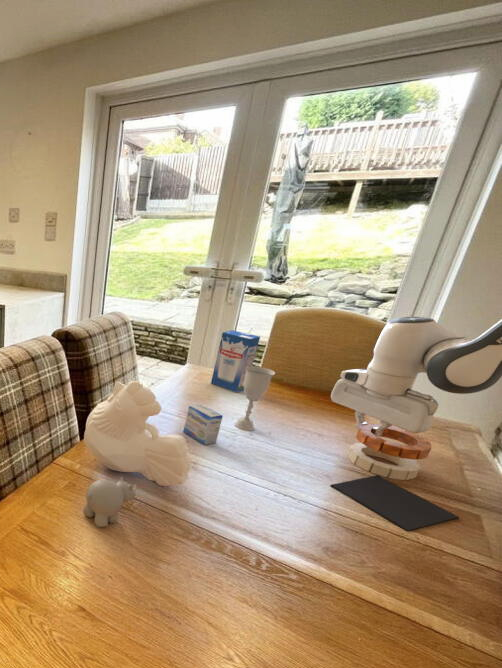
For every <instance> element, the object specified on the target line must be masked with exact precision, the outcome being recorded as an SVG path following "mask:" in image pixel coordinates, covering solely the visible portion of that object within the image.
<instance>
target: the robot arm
mask: <svg viewBox="0 0 502 668" xmlns="http://www.w3.org/2000/svg"><path fill="white" fill-rule="evenodd" d="M421 373H426V376H427V379H428V381H429V382H430V383H431V384H432V385H433V386H434V387H435V388H437V389H439V390H441V391H443V392H446V393H451V394H459V395H466V394H467V395H468V394H469V395H470V394H475V393H478V392H482V391H485V390H487V389H489V388H491V387H492V386H494V385H495V384H497V383H498V381H499V380H500V379H501V378H502V318H501V319H500V320H498V322H496V323H495V324H493V325H492V326H491V327H489V328H488V329H487V330H486V331H484V332H483V333H481V334H480V335H479V336H478V337H476V338H471V337H469V336H466V335H462V334H461V333H457V332H454V331H452V330H450V329H449V328H447V327H445V326H443V325H441V324H440V323H438V322H437V321H436V320H435V319H434V318H431V317H426V316H403V317H397V318H394V319H391V320H390V321H389V322H387V323H386V325H385V326H384V327H383V329H382V331H381V333H380V335H379V337H378V339H377V341H376V343H375V347H374V348H373V358H372V359H371V361H370V362H369V363H368V365H367V368H355V369H347V370H342V371H341V372H340V379H338V380H337V381H336V383H334V387H333V389H332V390H331V393H330V399H331V401H332V402H333V403H336V404H338V405H341V406H343V407H346V408H348V409H351V410H353V411H355V412H354V417H355V420H356V424H355V425H354V426H355V429H359V428H360V426H361V425H365V424H369V422H366V419H365V416H368V417H371V418H374V419H376V420H379V425H382V426H380V427H376V428H372V431H371V433H373V434H374V435H375V436H377V437H379V436H381V435H382V433H383V431H384V430H385V429H387V428H388V427H390V426H391V427H396V428H399V429H403V431H405V430H406V431H409V432H411V433H414V434H422V433H425V432H428V431H429V430H430V428H431V426H432V424H433V419H434V414H435V413H436V412H437V410H438V408H439V402H438V401H437V399H435V398H434V396H432V395H430V394H426V393H424V392H420V391H418V390H414V389H413V387H414V384H415V382H416V380H417V377H418V375H419V374H421Z"/></svg>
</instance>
